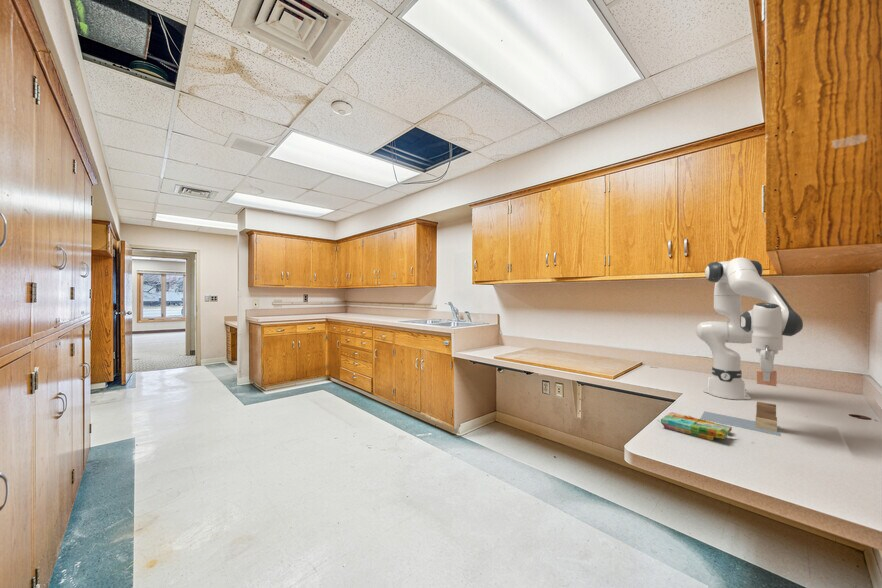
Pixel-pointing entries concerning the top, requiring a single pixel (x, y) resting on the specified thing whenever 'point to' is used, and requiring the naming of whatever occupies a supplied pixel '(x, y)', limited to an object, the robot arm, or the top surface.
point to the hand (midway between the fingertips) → (766, 379)
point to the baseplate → (736, 422)
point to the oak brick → (766, 424)
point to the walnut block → (766, 411)
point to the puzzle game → (695, 426)
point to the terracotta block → (771, 383)
